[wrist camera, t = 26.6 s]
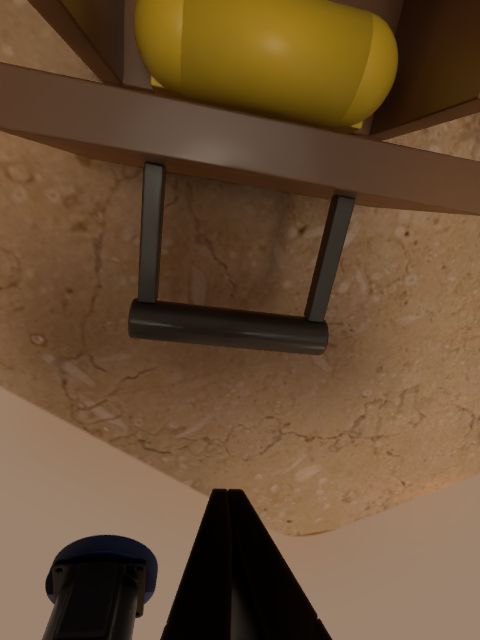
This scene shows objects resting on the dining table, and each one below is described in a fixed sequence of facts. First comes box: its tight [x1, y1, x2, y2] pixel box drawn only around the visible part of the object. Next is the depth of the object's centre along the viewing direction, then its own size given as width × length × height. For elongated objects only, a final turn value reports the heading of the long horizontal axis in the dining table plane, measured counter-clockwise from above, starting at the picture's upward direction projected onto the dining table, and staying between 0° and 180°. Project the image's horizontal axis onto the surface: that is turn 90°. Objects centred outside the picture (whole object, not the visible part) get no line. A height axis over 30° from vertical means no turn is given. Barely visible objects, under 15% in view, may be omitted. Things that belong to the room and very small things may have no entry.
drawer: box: [0, 0, 480, 355], centre depth 9 cm, size 19×12×7 cm, turn 171°
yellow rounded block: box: [134, 0, 398, 134], centre depth 10 cm, size 8×3×3 cm, turn 81°
